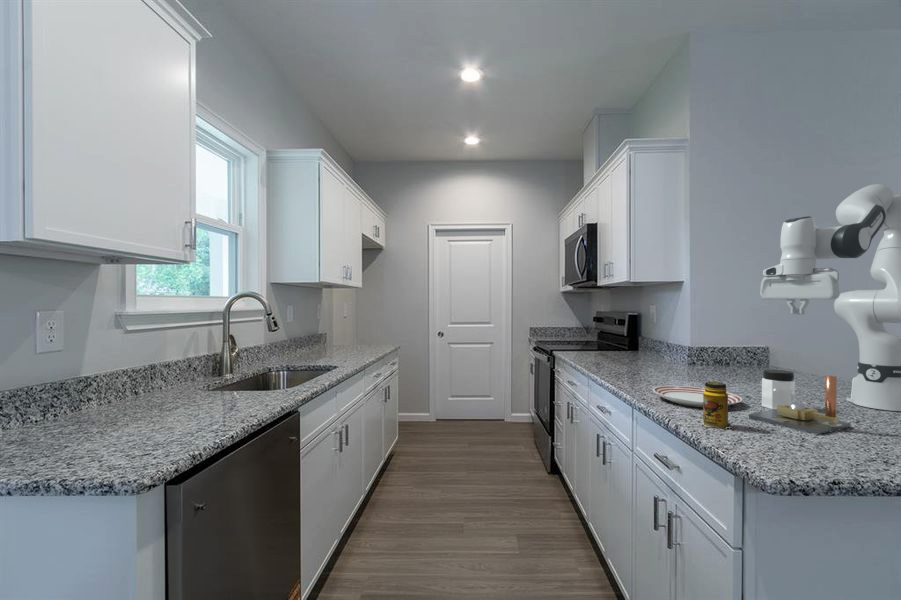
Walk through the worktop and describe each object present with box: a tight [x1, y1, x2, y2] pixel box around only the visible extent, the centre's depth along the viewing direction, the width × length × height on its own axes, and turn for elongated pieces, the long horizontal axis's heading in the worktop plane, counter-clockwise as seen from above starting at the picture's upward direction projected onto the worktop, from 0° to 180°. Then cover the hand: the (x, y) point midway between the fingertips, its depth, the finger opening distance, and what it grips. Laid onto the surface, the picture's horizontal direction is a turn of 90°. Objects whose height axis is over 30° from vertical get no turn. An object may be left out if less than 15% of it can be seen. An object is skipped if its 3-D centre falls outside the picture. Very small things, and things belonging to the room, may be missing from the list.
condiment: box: [700, 381, 733, 430], centre depth 128 cm, size 7×8×12 cm
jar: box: [761, 369, 796, 410], centre depth 148 cm, size 9×8×12 cm
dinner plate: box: [652, 385, 743, 408], centre depth 157 cm, size 28×27×3 cm
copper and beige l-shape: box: [777, 375, 839, 423], centre depth 129 cm, size 14×7×13 cm, turn 22°
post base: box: [748, 402, 852, 435], centre depth 130 cm, size 17×18×5 cm
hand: (797, 314), depth 139 cm, fingers closed
